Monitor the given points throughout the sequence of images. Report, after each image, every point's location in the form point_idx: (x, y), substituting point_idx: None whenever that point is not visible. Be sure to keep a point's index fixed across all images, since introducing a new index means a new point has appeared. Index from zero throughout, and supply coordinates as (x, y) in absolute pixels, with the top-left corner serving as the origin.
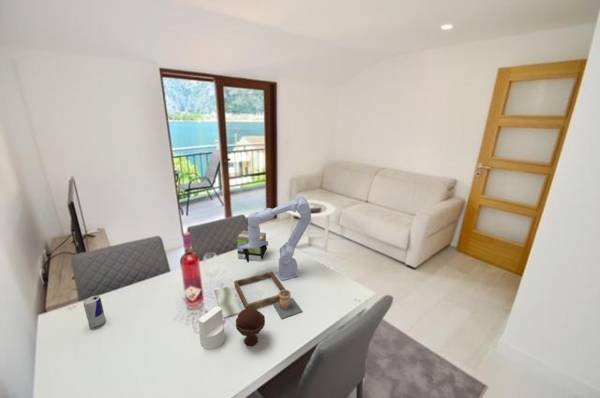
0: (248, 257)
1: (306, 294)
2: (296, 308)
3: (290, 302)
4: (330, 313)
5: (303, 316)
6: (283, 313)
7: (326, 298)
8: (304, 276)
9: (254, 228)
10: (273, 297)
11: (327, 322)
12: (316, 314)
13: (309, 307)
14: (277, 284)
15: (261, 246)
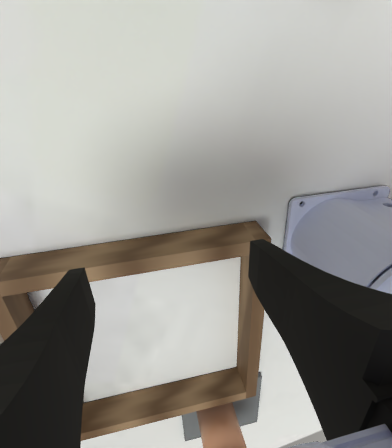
0: (79, 385)
1: None
2: (246, 414)
3: None
4: (318, 420)
5: (248, 427)
6: (198, 428)
7: None
8: None
9: None
10: (189, 410)
11: (290, 440)
12: (284, 422)
13: (284, 403)
14: (244, 321)
15: (365, 420)
